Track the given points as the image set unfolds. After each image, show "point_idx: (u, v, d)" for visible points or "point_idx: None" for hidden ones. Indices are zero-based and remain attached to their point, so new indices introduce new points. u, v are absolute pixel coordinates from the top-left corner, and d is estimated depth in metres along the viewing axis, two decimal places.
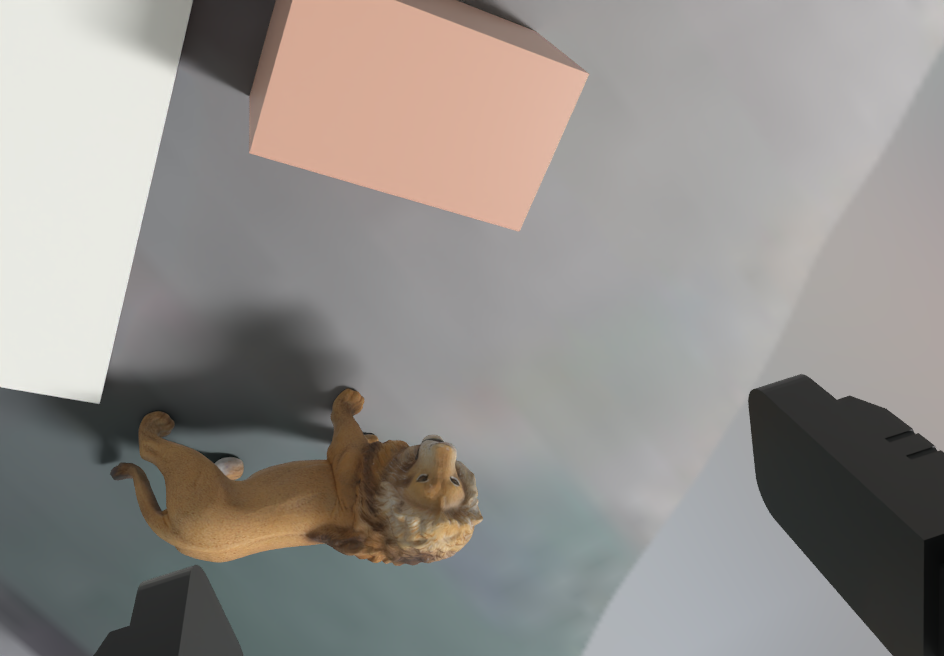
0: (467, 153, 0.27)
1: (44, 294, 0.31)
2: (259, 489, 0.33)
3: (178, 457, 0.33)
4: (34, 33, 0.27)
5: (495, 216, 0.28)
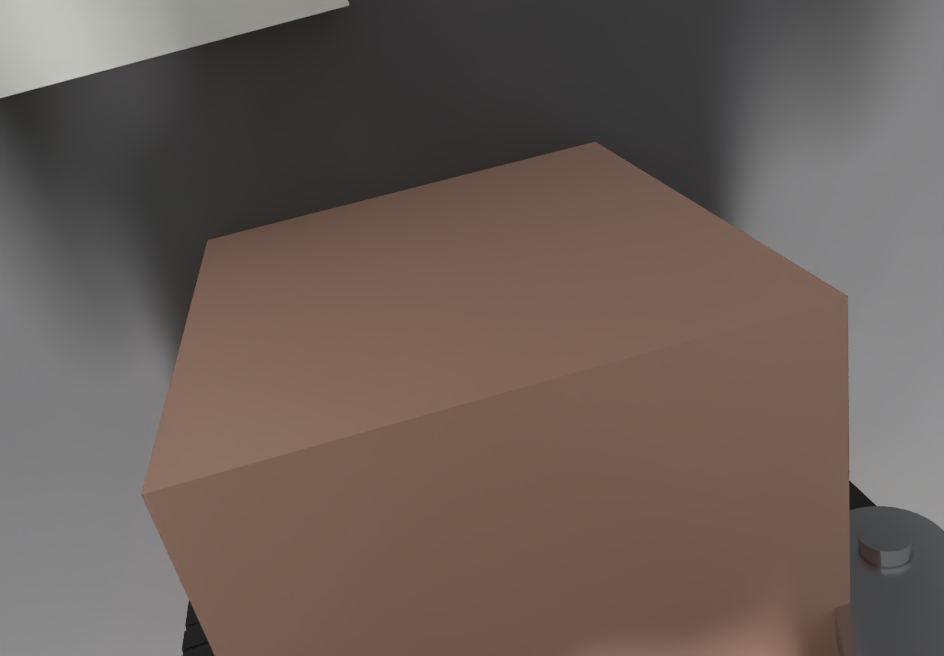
0: None
1: None
2: None
3: None
4: None
5: None
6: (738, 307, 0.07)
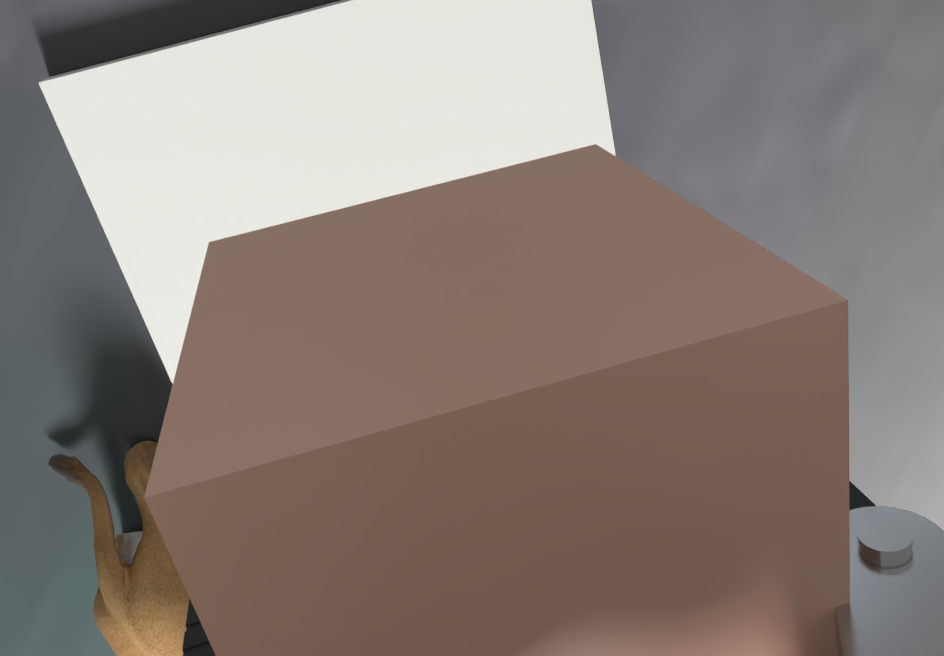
0: None
1: None
2: None
3: None
4: None
5: None
6: (739, 311, 0.07)
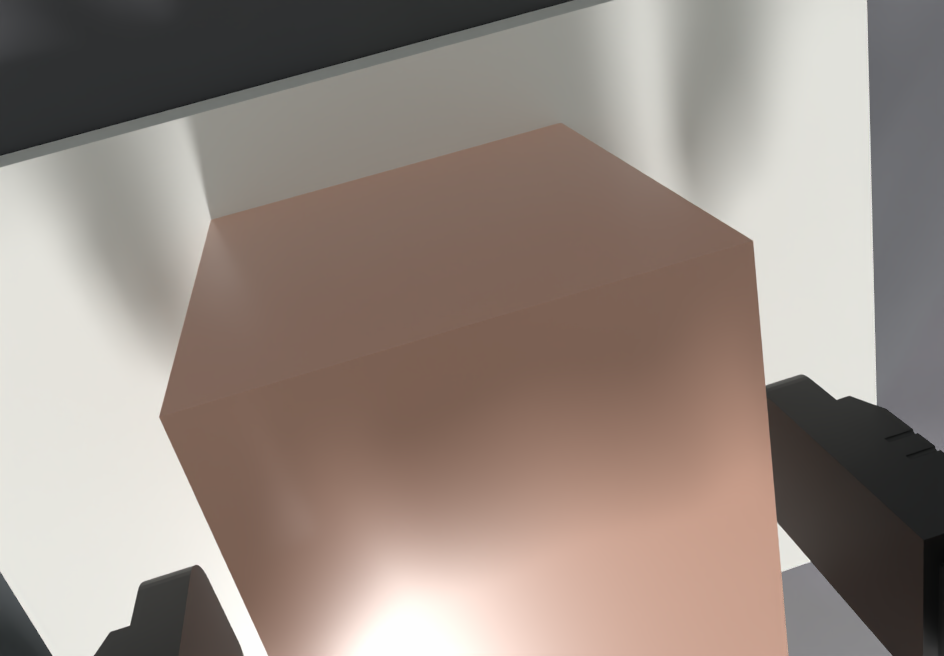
0: None
1: None
2: None
3: None
4: None
5: None
6: (662, 253, 0.08)
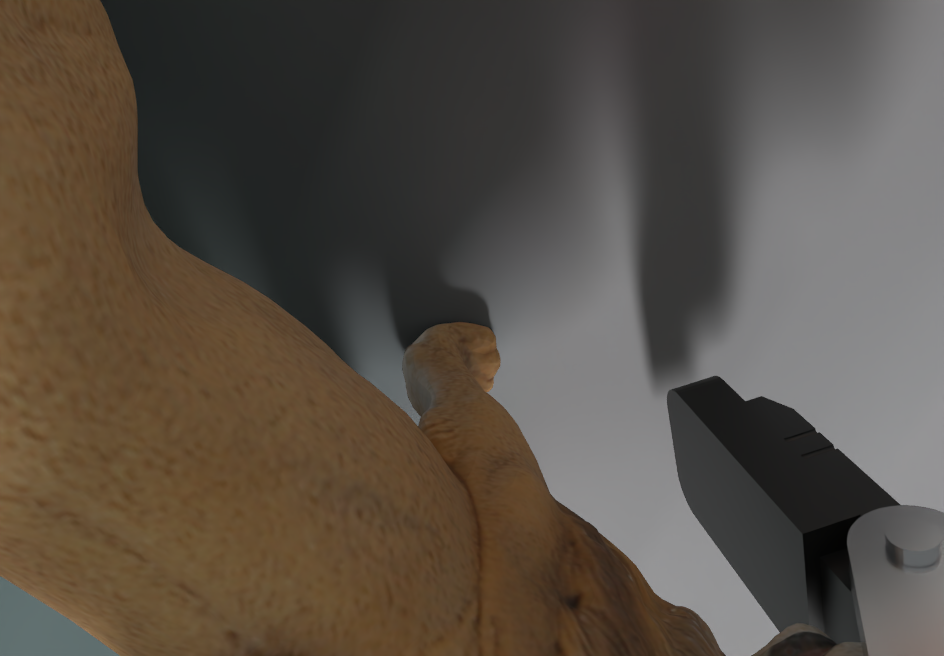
0: None
1: None
2: (239, 315, 0.07)
3: None
4: None
5: None
6: None
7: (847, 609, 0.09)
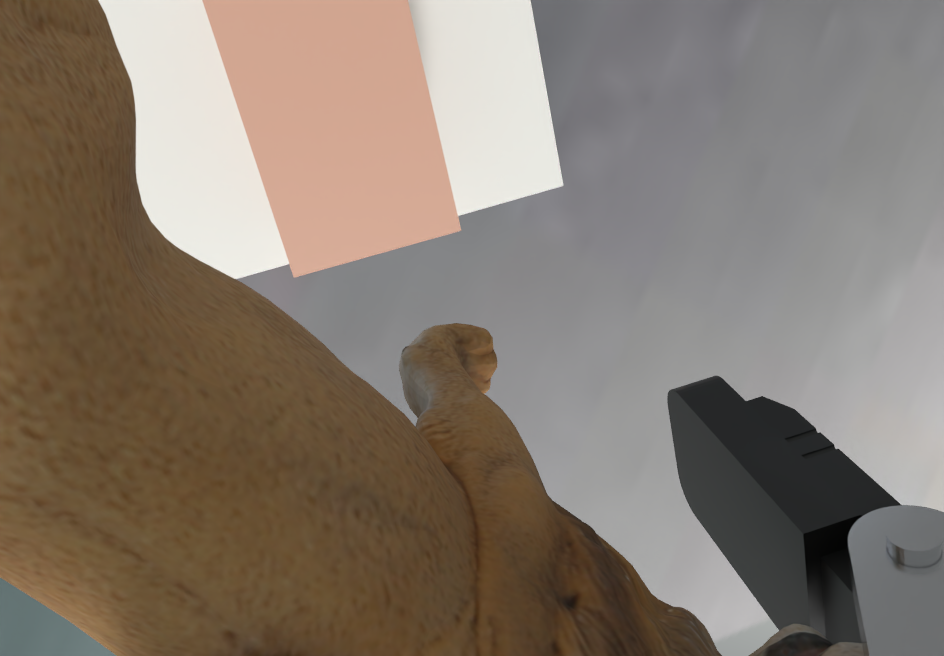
0: (331, 179, 0.26)
1: (255, 203, 0.32)
2: (236, 315, 0.07)
3: None
4: (480, 96, 0.32)
5: (292, 245, 0.26)
6: None
7: (848, 609, 0.09)
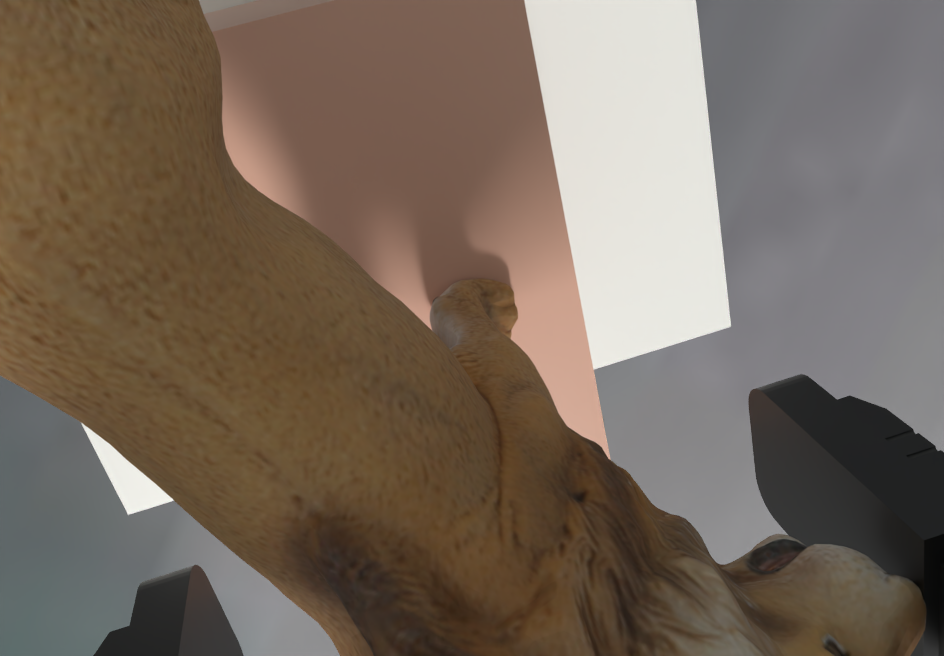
0: None
1: None
2: (303, 240, 0.08)
3: None
4: (615, 202, 0.20)
5: None
6: None
7: None
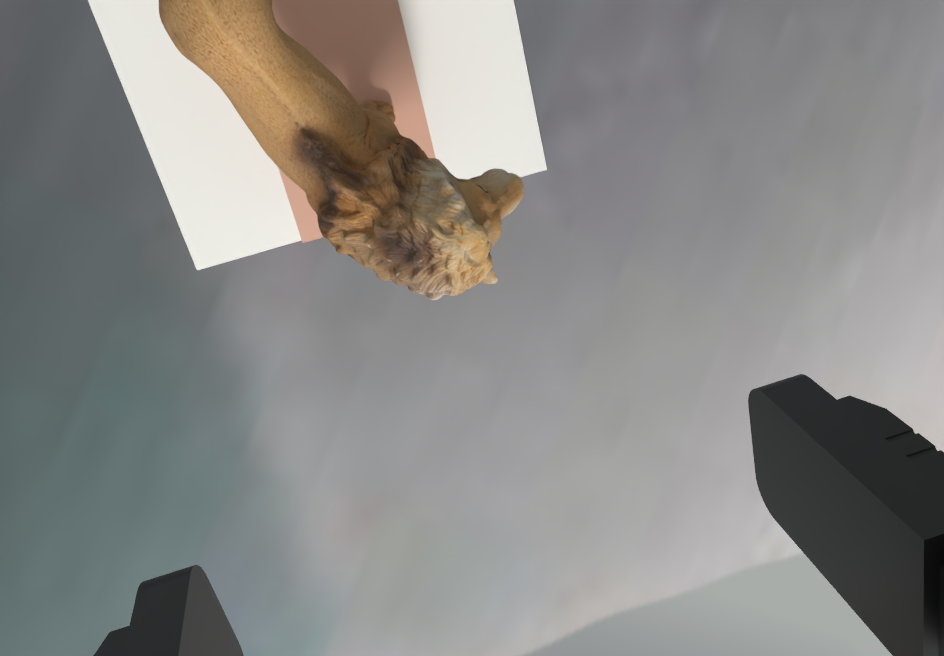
0: None
1: (275, 186, 0.36)
2: (298, 44, 0.24)
3: None
4: (471, 91, 0.36)
5: (301, 215, 0.31)
6: None
7: None
